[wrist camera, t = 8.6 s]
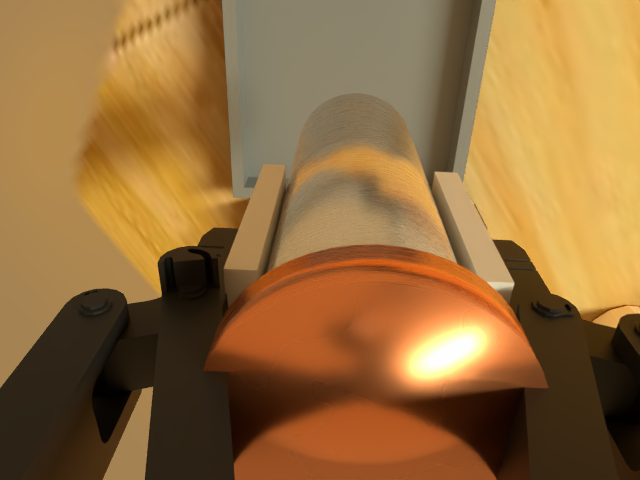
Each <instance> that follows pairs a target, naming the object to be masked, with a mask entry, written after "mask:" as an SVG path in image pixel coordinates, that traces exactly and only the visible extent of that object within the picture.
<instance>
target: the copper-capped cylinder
mask: <svg viewBox="0 0 640 480" xmlns="http://www.w3.org/2000/svg"><path fill="white" fill-rule="evenodd" d="M203 371H219V372H227V385H228V397H229V410H230V423H231V436H232V449H233V462H234V475H235V480H496V477H497V474H498V471H499V468H500V464H501V461H502V458H503V455H504V451H505V448H506V445H507V442H508V439H509V435H510V432H511V429H512V426H513V422H514V419H515V416H516V413H517V410H518V406H519V403H520V400H521V397H522V394H523V390H524V387H529V388H548V385H547V382H546V378H545V375H544V372H543V370H542V368H541V366H540V364H539V362H538V360H537V357H536V355H535V353H534V351H533V349H532V347H531V345H530V343H529V341H528V339H527V337H526V334H525V332H524V330H523V328H522V326H521V324H520V322H519V321H518V319H517V317H516V315H515V313H514V311H513V310H512V308H511V307H510V306H509V305H508V303H507V302H506V301H505V300H504V298H503V297H502V296H501V295H500V294H499V293H498V292H497V291H496V290H495V289H494V288H493V287H492V286H491V285H489V284H488V283H487V282H486V281H485V280H483V279H482V278H480V277H479V276H477V275H476V274H474V273H473V272H472V271H470V270H468V269H466V268H464V267H462V266H460V265H459V264H458V263H457V260H456V257H455V255H454V252H453V249H452V247H451V244H450V241H449V238H448V236H447V233H446V230H445V228H444V225H443V222H442V219H441V217H440V214H439V211H438V208H437V206H436V203H435V200H434V198H433V195H432V192H431V189H430V187H429V184H428V181H427V179H426V176H425V173H424V170H423V168H422V165H421V162H420V160H419V157H418V154H417V151H416V149H415V146H414V143H413V141H412V138H411V135H410V132H409V130H408V127H407V125H406V123H405V121H404V119H403V118H402V116H401V115H400V114H399V112H398V111H397V110H396V109H395V108H394V107H393V106H391V105H390V104H389V103H387V102H385V101H384V100H382V99H380V98H377V97H375V96H372V95H368V94H360V93H350V94H344V95H340V96H336V97H334V98H331V99H329V100H327V101H326V102H324V103H322V104H321V105H320V106H318V107H317V108H316V109H315V110H314V111H313V112H312V113H311V114H310V116H309V117H308V118H307V120H306V121H305V123H304V125H303V127H302V130H301V133H300V136H299V140H298V144H297V148H296V152H295V156H294V160H293V165H292V169H291V173H290V177H289V181H288V185H287V189H286V193H285V197H284V201H283V206H282V210H281V214H280V218H279V222H278V226H277V230H276V234H275V238H274V242H273V246H272V251H271V255H270V259H269V263H268V267H267V271H266V274H264V275H263V276H262V277H260V278H259V279H257V280H256V281H254V282H253V283H252V284H251V285H250V286H248V287H247V288H246V289H245V290H244V291H243V292H242V293H241V294H240V295H239V296H238V297H237V298H236V299H235V301H234V302H233V303H232V304H231V306H230V307H229V308H228V310H227V311H226V313H225V314H224V316H223V318H222V320H221V322H220V323H219V325H218V327H217V330H216V333H215V336H214V339H213V342H212V345H211V348H210V351H209V354H208V357H207V360H206V363H205V366H204V369H203ZM548 389H549V388H548Z"/></svg>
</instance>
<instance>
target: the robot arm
mask: <svg viewBox="0 0 640 480" xmlns="http://www.w3.org/2000/svg"><path fill="white" fill-rule="evenodd" d="M285 193H286V165H275V164H263V167H262V169H261V172H260V175H259V177H258V180H257V182H256V185H255V188H254V190H253V193H252V195H251V198H250V201H249V203H248V206H247V209H246V211H245V214H244V216H243V219H242V222H241V224H240V227H239V229H231V228H213V229H211V230H210V231H209V232H207V233H206V234H205V235H203V236H202V238H201V240H200V242H199V244H198V246H186V247H180V248H176V249H173V250H171V251H168V252H167V253H165V254H164V255H163V256H161V257H160V259H159V261H158V270H159V276H160V283H161V290H162V297H160V298H157V299H154V300H150V301H145V302H138V303H131V304H127V301H126V298H125V296H124V294H122V293H121V292H119V291H117V290H113V289H94V290H89V291H86V292H83V293H81V294H79V295H77V296H75V297H73V298H72V299H71V300H70V301H69V302H67V303H66V304H65V305H64V307H63V308H62V309H61V311H60V312H59V313H58V314H57V316H56V317H55V318H54V320H53V321H52V322H51V324H50V325H49V326H48V327H47V329H46V330H45V331H44V333H43V334H42V335H41V336H40V338H39V339H38V340H37V342H36V343H35V344H34V346H33V347H32V348H31V349H30V351H29V352H28V353H27V355H26V356H25V357H24V358H23V360H22V361H21V362H20V364H19V365H18V366H17V367H16V369H15V370H14V371H13V373H12V374H11V375H10V376H9V378H8V379H7V380H6V382H5V383H4V384H3V385H2V387H1V388H0V480H102V479H103V477H104V475H105V473H106V471H107V468H108V466H109V464H110V461H111V459H112V457H113V455H114V453H115V450H116V448H117V446H118V444H119V441H120V439H121V437H122V434H123V432H124V430H125V428H126V425H127V423H128V421H129V419H130V417H131V414H132V412H133V410H134V408H135V405H136V403H137V401H138V399H139V396H140V394H141V391H142V389H143V388H148V387H153V396H152V407H151V418H150V429H149V440H148V451H147V462H146V473H145V480H235V475H234V462H233V449H232V436H231V423H230V410H229V397H228V385H227V372H219V371H203V369H204V366H205V363H206V360H207V357H208V354H209V351H210V348H211V345H212V342H213V339H214V336H215V333H216V330H217V327H218V325H219V323H220V322H221V320H222V318H223V316H224V314H225V313H226V311H227V310H228V308H229V307H230V306H231V304H232V303H233V302H234V301H235V299H236V298H237V297H238V296H239V295H240V294H241V293H242V292H243V291H244V290H245V289H246V288H247V287H248V286H250V285H251V284H252V283H253V282H254V281H256V280H257V279H259V278H260V277H262V276H263V275H264V274H266V271H267V267H268V263H269V259H270V255H271V251H272V246H273V242H274V238H275V234H276V230H277V226H278V222H279V218H280V214H281V210H282V206H283V201H284V197H285ZM432 195H433V198H434V200H435V203H436V206H437V208H438V211H439V214H440V217H441V219H442V222H443V225H444V228H445V230H446V233H447V236H448V238H449V241H450V244H451V247H452V249H453V252H454V255H455V257H456V260H457V263H458V264H459V265H460V266H462V267H464V268H466V269H468V270H470V271H472V272H473V273H474V274H476V275H477V276H479V277H480V278H482V279H483V280H485V281H486V282H487V283H488V284H489V285H491V286H492V287H493V288H494V289H495V290H496V291H497V292H498V293H499V294H500V295H501V296H502V297H503V298H504V300H505V301H506V302H507V303H508V305H509V306H510V307H511V308H512V310H513V311H514V313H515V315H516V317H517V319H518V321H519V322H520V324H521V326H522V328H523V330H524V332H525V334H526V337H527V339H528V341H529V343H530V345H531V347H532V349H533V351H534V353H535V355H536V357H537V360H538V362H539V364H540V366H541V368H542V370H543V372H544V375H545V378H546V382H547V385H548V388H549V389H548V388H529V387H524V390H523V394H522V397H521V400H520V403H519V406H518V410H517V413H516V416H515V419H514V422H513V426H512V429H511V432H510V435H509V439H508V442H507V445H506V448H505V451H504V455H503V458H502V461H501V464H500V468H499V471H498V474H497V477H496V480H640V314H638V313H636V314H626V315H624V316H622V317H621V318H620V320H619V323H618V325H617V328H613V327H609V326H605V325H601V324H597V323H593V322H589V321H586V320H583V319H581V317H580V313H579V312H578V310H577V308H576V307H575V306H574V305H573V304H572V303H570V302H569V301H568V300H566V299H564V298H562V297H560V296H557V295H554V294H551V293H550V291H549V290H548V288H547V286H546V285H545V283H544V281H543V280H542V278H541V277H540V275H539V273H538V272H537V271H536V268H535V267H534V265H533V263H532V262H530V261H531V260H530V258H529V257H528V255H527V254H526V252H525V250H524V249H522V248H521V247H520V246H518V245H517V244H516V243H514V242H513V241H511V240H492V239H491V237H490V235H489V233H488V231H487V229H486V227H485V225H484V223H483V221H482V219H481V217H480V215H479V213H478V212H477V210H476V208H475V206H474V204H473V202H472V200H471V198H470V196H469V194H468V192H467V190H466V188H465V186H464V184H463V183H462V181H461V179H460V177H459V175H458V173H454V172H435V173H434V179H433V186H432Z"/></svg>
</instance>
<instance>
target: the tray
mask: <svg viewBox="0 0 640 480" xmlns="http://www.w3.org/2000/svg"><path fill="white" fill-rule="evenodd" d="M495 4H496V0H222V11H223V28H224V46H225V64H226V81H227V99H228V116H229V134H230V151H231V169H232V186H233V197H235V198H251V195H252V193H253V190H254V188H255V185H256V182H257V180H258V177H259V175H260V172H261V169H262V167H263V164H275V165H286V189H287V185H288V181H289V177H290V173H291V169H292V165H293V160H294V156H295V152H296V148H297V144H298V140H299V136H300V133H301V130H302V127H303V125H304V123H305V121H306V120H307V118H308V117H309V116H310V114H311V113H312V112H313V111H314V110H315V109H316V108H317V107H318V106H320V105H321V104H322V103H324V102H326V101H327V100H329V99H331V98H334V97H336V96H340V95H344V94H350V93H360V94H368V95H372V96H375V97H377V98H380V99H382V100H384V101H385V102H387V103H389V104H390V105H391V106H393V107H394V108H395V109H396V110H397V111H398V112H399V114H400V115H401V116H402V118H403V119H404V121H405V123H406V125H407V127H408V130H409V132H410V135H411V138H412V141H413V143H414V146H415V149H416V151H417V154H418V157H419V160H420V162H421V165H422V168H423V170H424V173H425V176H426V179H427V181H428V184H429V187H430V189H431V192H432V186H433V179H434V173H435V172H454V173H458V175H459V177H460V179H461V181H462V183H463V179H464V174H465V168H466V163H467V157H468V152H469V146H470V141H471V135H472V130H473V124H474V119H475V113H476V108H477V102H478V97H479V91H480V86H481V80H482V75H483V69H484V64H485V58H486V53H487V47H488V42H489V36H490V31H491V25H492V20H493V15H494V9H495Z"/></svg>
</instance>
